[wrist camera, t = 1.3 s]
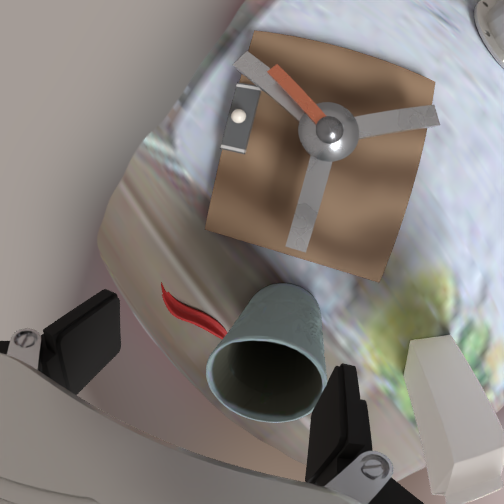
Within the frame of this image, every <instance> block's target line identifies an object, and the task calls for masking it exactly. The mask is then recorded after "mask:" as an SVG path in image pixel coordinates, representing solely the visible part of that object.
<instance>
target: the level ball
mask: <svg viewBox="0 0 504 504" xmlns="http://www.w3.org/2000/svg"><path fill="white" fill-rule="evenodd" d="M231 118H232V120H233V121H234V122H235V123H242V122H243V121H244V120H245V119H246V113H245V112H244V111H243V110H242V109H236V110H234V111H233V112H232V114H231Z"/></svg>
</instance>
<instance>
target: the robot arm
mask: <svg viewBox="0 0 504 504" xmlns="http://www.w3.org/2000/svg"><path fill="white" fill-rule="evenodd" d="M474 19H475V23H476V26H477V29H478V32H479V34H480V36H481V38H482V40H483V42H484V43H485V45H486V47H487V48H488V50H489V51H490V53H491V54H492V55H493V57H494V58H495V59H496V61H497V62H498V63H499V64H500V65H501V66H502V67H503V68H504V0H480V1H479V2H478V3H477V4H476V6H475V9H474ZM43 332H44V334H43V335H40V333H39V332H37V331H36V330H34V329H30V328H25V329H20V330H18V331H16V332H15V333H14V334H13V335H12V337H11V340H10V341H0V504H424V503H423V502H421V501H420V500H419V499H417V498H416V497H415V496H414V495H412V494H411V493H410V492H408V491H407V490H406V489H405V488H404V487H402V486H401V485H400V484H399V483H397V482H396V481H395V480H394V479H393V478H391V476H392V474H393V464H392V462H391V461H390V459H389V458H388V457H387V456H386V455H384V454H382V453H380V452H377V451H372V441H371V432H370V424H369V416H368V409H367V403H366V401H365V400H360V392H359V385H358V378H357V371H356V367H355V366H352V365H347V364H341V365H340V367H339V366H336V367H335V368H334V370H333V372H332V374H331V376H330V378H329V380H328V382H327V384H326V386H325V388H324V390H323V392H322V394H321V396H320V398H319V400H318V402H317V404H316V405H315V407H314V409H313V412H312V415H311V424H310V437H309V448H308V458H307V467H306V476H305V481H306V482H307V483H306V482H301V481H297V480H292V479H288V478H283V477H278V476H273V475H269V474H265V473H261V472H257V471H253V470H250V469H246V468H242V467H238V466H235V465H231V464H228V463H224V462H221V461H218V460H215V459H212V458H209V457H206V456H203V455H200V454H197V453H194V452H192V451H189V450H186V449H184V448H181V447H179V446H176V445H173V444H171V443H169V442H166V441H164V440H161V439H159V438H157V437H154V436H152V435H150V434H148V433H145V432H143V431H141V430H139V429H137V428H135V427H133V426H131V425H128V424H126V423H125V422H123V421H120V420H119V419H117V418H115V417H113V416H111V415H109V414H107V413H106V412H104V411H102V410H100V409H98V408H97V407H95V406H93V405H91V404H90V403H88V402H86V401H85V400H83V399H81V398H80V397H78V396H76V395H77V394H78V393H79V392H80V391H81V390H82V389H83V388H84V387H85V386H86V385H87V384H88V383H89V382H90V380H92V379H93V378H94V377H95V376H96V375H97V374H98V373H99V372H100V371H101V370H102V369H103V368H104V367H105V366H106V364H108V363H109V362H110V361H111V360H112V359H113V358H114V357H115V356H116V355H117V353H119V351H120V348H121V339H120V338H121V337H120V300H119V298H118V297H117V294H116V293H114V292H111V291H109V290H106V289H104V290H102V291H100V292H99V293H97V294H96V295H94V296H93V297H91V298H90V299H88V300H87V301H85V302H84V303H82V304H81V305H79V306H77V307H76V308H74V309H73V310H72V311H70V312H68V313H67V314H66V315H64V316H62V317H61V318H60V319H58V320H57V321H55V322H54V323H52V324H51V325H49V326H48V327H46V328H45V329H44V330H43Z"/></svg>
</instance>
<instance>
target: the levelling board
mask: <svg viewBox="0 0 504 504" xmlns="http://www.w3.org/2000/svg"><path fill="white" fill-rule="evenodd" d="M248 52H249V53H251V54H252V55H253V56H255V57H256V58H257V59H259V60H260V61H261V62H263V63H264V64H265V65H266V66H268V67H269V68H270V69H271V68H272V67H274V66H275V65H276V64H278V65H279V66H280V67H281V68H282V69H283V70H284V71H285V72H286V73H287V74H288V75H289V76H290V77H291V78H292V79H293V80H294V81H295V82H296V83H297V84H298V85H299V86H300V87H301V89H302V90H303V91H304V92H305V93H306V94H307V95H308V96H309V97H310V98H311V99H312V100H313V101H314V103H315V104H318V103H322V102H332V103H336V104H339V105H341V106H343V107H345V108H346V109H347V110H349V111H350V112H351V113H352V114H353V116H354V117H356V116H361V115H367V114H372V113H378V112H384V111H390V110H397V109H404V108H411V107H419V106H427V105H432V100H433V94H434V87H435V82H434V81H432V80H430V79H428V78H426V77H424V76H421V75H419V74H417V73H414V72H412V71H410V70H407V69H405V68H402V67H400V66H397V65H395V64H392V63H389V62H387V61H384V60H381V59H378V58H375V57H372V56H369V55H366V54H363V53H360V52H356V51H353V50H350V49H346V48H343V47H339V46H335V45H331V44H327V43H323V42H319V41H314V40H310V39H305V38H300V37H295V36H289V35H283V34H277V33H270V32H263V31H254V34H253V37H252V40H251V44H250V47H249V50H248ZM239 83H245V84H251V85H255V84H254V83H253V82H251V81H250V80H249V79H248V78H246V77H245V76H244V75H243V74H242V75H241V78H240V82H239ZM298 126H299V122H298V121H297V120H295V119H294V118H293V117H292V116H291V115H290V114H289V113H288V112H287V111H285V110H284V109H283V108H282V107H281V106H280V105H279V104H278V103H276V102H275V101H274V100H273V99H272V98H271V97H269V96H268V95H267V94H266V93H265V92H264V91H261V95H260V98H259V102H258V106H257V110H256V114H255V118H254V122H253V125H252V129H251V133H250V137H249V141H248V145H247V149H246V153H245V154H240V153H236V152H232V151H227V150H222V152H221V157H220V161H219V165H218V170H217V174H216V178H215V183H214V187H213V192H212V197H211V201H210V206H209V211H208V216H207V221H206V225H205V230H208V231H211V232H215V233H218V234H221V235H225V236H228V237H231V238H235V239H238V240H241V241H245V242H248V243H251V244H255V245H258V246H261V247H265V248H268V249H271V250H275V251H278V252H281V253H284V254H288V255H291V256H294V257H298V258H301V259H304V260H307V261H311V262H314V263H317V264H320V265H324V266H327V267H330V268H334V269H337V270H340V271H343V272H347V273H350V274H353V275H356V276H359V277H363V278H366V279H369V280H372V281H376V282H380V280H381V277H382V275H383V273H384V270H385V267H386V265H387V262H388V260H389V257H390V254H391V252H392V249H393V246H394V244H395V241H396V238H397V235H398V232H399V229H400V226H401V223H402V220H403V217H404V214H405V211H406V208H407V205H408V202H409V198H410V195H411V191H412V188H413V184H414V181H415V177H416V174H417V170H418V166H419V162H420V158H421V154H422V150H423V146H424V141H425V137H426V132H427V128H423V129H416V130H410V131H404V132H398V133H392V134H386V135H381V136H375V137H370V138H365V139H360V140H358V143H357V146H356V148H355V149H354V151H353V152H352V153H351V154H350V155H348V156H347V157H345V158H343V159H341V160H338V161H334V162H332V165H331V169H330V172H329V176H328V180H327V183H326V187H325V190H324V194H323V197H322V201H321V204H320V208H319V211H318V214H317V218H316V221H315V224H314V228H313V231H312V234H311V237H310V241H309V244H308V247H307V250H306V253H305V252H302V251H299V250H295V249H292V248H289V247H286V242H287V239H288V235H289V232H290V229H291V225H292V222H293V218H294V214H295V211H296V207H297V204H298V200H299V197H300V193H301V189H302V186H303V182H304V178H305V175H306V171H307V167H308V164H309V160H310V155H309V154H308V153H307V152H306V150H305V149H304V147H303V145H302V143H301V141H300V138H299V133H298Z"/></svg>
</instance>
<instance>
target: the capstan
mask: <svg viewBox="0 0 504 504" xmlns="http://www.w3.org/2000/svg"><path fill="white" fill-rule="evenodd" d="M233 66H234V67H235V68H236V69H237V70H238V71H239V72H240V73H241V74H243V75H244V76H245V77H246V78H248V79H249V80H250V81H251V82H253V83H254V84H255V85H256V86H258V87H259V88H260V89H261V90H262V91H264V92H265V93H266V94H267V95H268V96H269V97H271V98H272V99H273V100H274V101H275V102H276V103H278V104H279V105H280V106H281V107H282V108H283V109H284V110H285V111H287V112H288V113H289V114H290V115H291V116H292V117H293V118H294V119H295V120H297V121H298V122H299V126H298V133H299V138H300V141H301V143H302V145H303V147H304V149H305V150H306V152H307V153H308V154H309V155H310V160H309V164H308V167H307V171H306V175H305V178H304V182H303V186H302V189H301V193H300V197H299V200H298V204H297V207H296V211H295V214H294V218H293V222H292V225H291V229H290V232H289V235H288V239H287V242H286V247H289V248H292V249H295V250H299V251H302V252H305V253H306V250H307V247H308V244H309V241H310V237H311V234H312V231H313V228H314V224H315V221H316V218H317V214H318V211H319V208H320V204H321V201H322V197H323V194H324V190H325V187H326V183H327V180H328V176H329V172H330V169H331V165H332V162H334V161H338V160H341V159H343V158H345V157H347V156H348V155H350V154H351V153H352V152H353V151H354V149H355V148H356V146H357V143H358V140H360V139H365V138H370V137H375V136H381V135H386V134H392V133H398V132H404V131H410V130H416V129H423V128H430V127H435V126H438V125H440V123H439V119H438V116H437V113H436V109H435V106H434V105H427V106H419V107H411V108H404V109H397V110H390V111H384V112H378V113H372V114H367V115H361V116H356V117H354V116H353V114H352V113H351V112H350V111H349V110H347V109H346V108H345V107H343V106H341V105H339V104H336V103H332V102H322V103H318V104H315V103H314V101H313V100H312V99H311V98H310V97H309V96H308V95H307V94H306V93H305V92H304V91H303V90H302V89H301V87H300V86H299V85H298V84H297V83H296V82H295V81H294V80H293V79H292V78H291V77H290V76H289V75H288V74H287V73H286V72H285V71H284V70H283V69H282V68H281V67H280V66H279V65H278V64H276V65H275V66H274V67H272V68H271V69H270V68H269V67H268V66H266V65H265V64H264V63H263V62H261V61H260V60H259V59H257V58H256V57H255V56H253V55H252V54H251V53H249V52H248V51H246V52H245V53H244V54H243V55H242V56H241V57H240V58H239V59H238V60H237V61H236V62H235V63H234V64H233Z"/></svg>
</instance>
